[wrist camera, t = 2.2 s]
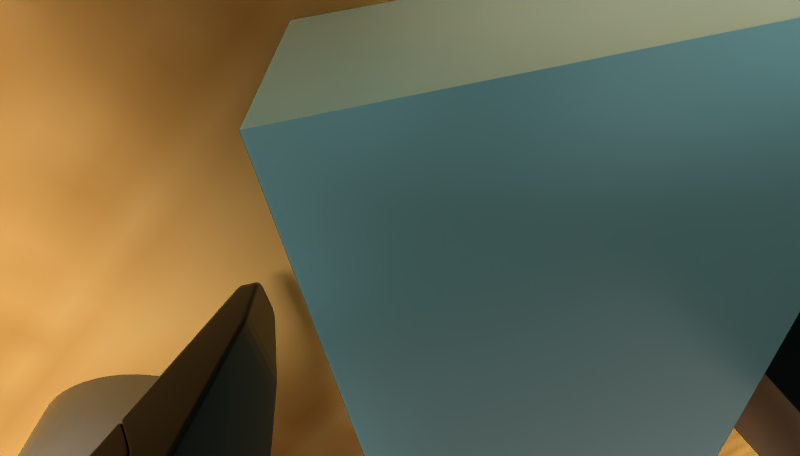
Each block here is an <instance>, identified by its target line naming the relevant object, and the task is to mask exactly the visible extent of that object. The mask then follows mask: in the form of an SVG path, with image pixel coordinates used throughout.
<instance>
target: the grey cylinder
mask: <svg viewBox="0 0 800 456" xmlns="http://www.w3.org/2000/svg"><path fill="white" fill-rule="evenodd" d="M158 378H159V376H151V375H117V376H108V377H103V378H97V379H93V380H90V381H86V382H83V383H81V384H78V385H76V386H73V387H71V388H69V389H68V390H66V391H64V392H63V393H61V394H60V395H58V396H57V397H56V398H55V399H54V400H53V401H52V402H51V403H50V404H49V406H48V407H47V409H46V410H45V412H44V414H43V415H42V417H41V419H40V420H39V422H38V424H37V425H36V427H35V428H34V430H33V432H32V433H31V435H30V437H29V438H28V440H27V442H26V443H25V445H24V447H23V448H22V450H21V452H20V453H19V455H18V456H89V455H90V454H91V453H92V452H93V451H94V450H95V449H96V448H97V447H98V445H99V444H100V443H101V442H102V441H103V440H104V439H105V438H106V436H107V435H108V434H109V433H110V432H111V431H112V430H113V429H114V427H115V426H116V425H117V424H119V423H122V422H121V421H122V419H123V417H124V416H125V415H126V414H127V413H128V412H129V411H130V410H131V408H132V407H133V406H134V405H135V404H136V403H137V402H138V401H139V399H140V398H141V397H142V396H143V395H144V394H145V393H146V392H147V390H148V389H149V388H150V387H151V386H152V385H153V384H154V383H155V381H156V380H157V379H158Z"/></svg>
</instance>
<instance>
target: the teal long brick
mask: <svg viewBox="0 0 800 456" xmlns="http://www.w3.org/2000/svg"><path fill="white" fill-rule="evenodd" d="M239 131H240V134H241V136H242V139H243V141H244V144H245V147H246V149H247V152H248V154H249V157H250V160H251V162H252V165H253V167H254V170H255V173H256V175H257V178H258V180H259V183H260V186H261V188H262V191H263V193H264V196H265V199H266V201H267V204H268V206H269V209H270V212H271V214H272V217H273V219H274V222H275V225H276V227H277V230H278V233H279V235H280V238H281V240H282V243H283V246H284V248H285V251H286V253H287V256H288V259H289V261H290V264H291V266H292V269H293V272H294V274H295V277H296V279H297V282H298V285H299V287H300V290H301V292H302V295H303V298H304V300H305V303H306V305H307V308H308V311H309V313H310V316H311V319H312V321H313V324H314V326H315V329H316V332H317V334H318V337H319V339H320V342H321V345H322V347H323V350H324V352H325V355H326V358H327V360H328V363H329V365H330V368H331V371H332V373H333V376H334V378H335V381H336V384H337V386H338V389H339V391H340V394H341V397H342V399H343V402H344V404H345V407H346V410H347V412H348V415H349V418H350V420H351V423H352V425H353V428H354V431H355V433H356V436H357V438H358V441H359V444H360V446H361V449H362V451H363V454H364V456H718V454H719V452H720V450H721V449H722V447H723V445H724V443H725V442H726V440H727V438H728V436H729V435H730V433H731V431H732V429H733V428H734V426H735V424H736V422H737V421H738V419H739V417H740V415H741V414H742V412H743V410H744V408H745V407H746V405H747V403H748V401H749V400H750V398H751V396H752V394H753V393H754V391H755V389H756V387H757V386H758V384H759V382H760V380H761V379H762V377H763V375H764V373H765V372H766V370H767V368H768V366H769V365H770V363H771V361H772V359H773V358H774V356H775V354H776V353H777V351H778V349H779V347H780V346H781V344H782V342H783V340H784V339H785V337H786V335H787V333H788V332H789V330H790V328H791V326H792V325H793V323H794V321H795V319H796V318H797V316H798V314H799V312H800V0H396V1H390V2H385V3H380V4H374V5H369V6H363V7H358V8H353V9H347V10H342V11H336V12H331V13H326V14H320V15H315V16H310V17H304V18H299V19H293V20H290V22H289V24H288V26H287V28H286V30H285V32H284V34H283V37H282V39H281V41H280V43H279V45H278V47H277V50H276V52H275V54H274V56H273V58H272V60H271V63H270V65H269V67H268V69H267V71H266V73H265V75H264V78H263V80H262V82H261V84H260V86H259V88H258V91H257V93H256V95H255V97H254V99H253V101H252V104H251V106H250V108H249V110H248V112H247V114H246V116H245V119H244V121H243V123H242V125H241V127H240V129H239Z"/></svg>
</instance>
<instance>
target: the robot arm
mask: <svg viewBox="0 0 800 456" xmlns="http://www.w3.org/2000/svg"><path fill="white" fill-rule="evenodd" d="M764 374H765V375H766V376H767V377H768V378H769V380H770V381H771V382H772V383H773V384H774V385H775V386H776V387H777V388H778V390H779V391H780V392H781V393H782V394H783V395H784V396H785V397H786V399H787V400H788V401H789V402H790V403H791V404H792V405H793V406H794V408H795V409H796V410H797V411H798V412H799V413H800V312H799V314H798V316H797V318H796V319H795V321H794V323H793V325H792V326H791V328H790V330H789V332H788V333H787V335H786V337H785V339H784V340H783V342H782V344H781V346H780V347H779V349H778V351H777V353H776V354H775V356H774V358H773V359H772V361H771V363H770V365H769V366H768V368H767V370H766V372H765V373H764ZM276 386H277V367H276V337H275V316H274V311H273V308H272V306H271V304H270V302H269V299H268V297H267V295H266V293H265V291H264V288H263V286H262V285H261V284H260V283H258V282H256V283H251V284H247V285H242V286H240V287H239V288H238V289H237V290H236V291H235V292H234V293H233V294H232V296H231V297H230V298H229V299H228V300H227V301H226V302H225V303H224V305H223V306H222V307H221V308H220V309H219V310H218V311H217V313H216V314H215V315H214V316H213V317H212V318H211V319H210V320H209V322H208V323H207V324H206V325H205V326H204V327H203V328H202V329H201V331H200V332H199V333H198V334H197V335H196V336H195V337H194V338H193V340H192V341H191V342H190V343H189V344H188V345H187V346H186V348H185V349H184V350H183V351H182V352H181V353H180V354H179V355H178V357H177V358H176V359H175V360H174V361H173V362H172V363H171V364H170V366H169V367H168V368H167V369H166V370H165V371H164V372H163V373H162V375H161V376H160V377H159V378H158V379H157V380H156V381H155V383H154V384H153V385H152V386H151V387H150V388H149V389H148V390H147V392H146V393H145V394H144V395H143V396H142V397H141V398H140V399H139V401H138V402H137V403H136V404H135V405H134V406H133V407H132V408H131V410H130V411H129V412H128V413H127V414H126V415H125V416H124V417H123V419H122V421H121V422H122V423H119V424H117V425H116V426H115V427H114V429H113V430H112V431H111V432H110V433H109V434H108V435H107V436H106V438H105V439H104V440H103V441H102V442H101V443H100V444H99V445H98V447H97V448H96V449H95V450H94V451H93V452H92V453H91V454H90V455H89V456H270V455H271V444H272V433H273V422H274V411H275V400H276Z"/></svg>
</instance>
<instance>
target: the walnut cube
mask: <svg viewBox="0 0 800 456" xmlns="http://www.w3.org/2000/svg"><path fill="white" fill-rule="evenodd" d="M734 428H735V429H736V431H737V432H738V433H739V434H740V435H741V436H742V437H743V438H744V439H745V440H746V442H747V443H748V444H749V445H750V446H751V447H752V448H753V449H754V450H755V452H756V453H757V454H758V455H759V456H800V413H799V412H798V411H797V410H796V409H795V408H794V406H793V405H792V404H791V403H790V402H789V401H788V400H787V399H786V397H785V396H784V395H783V394H782V393H781V392H780V391H779V390H778V388H777V387H776V386H775V385H774V384H773V383H772V382H771V381H770V380H769V378H768V377H767V376H766V375H765V374H764V375H763V377H762V379H761V380H760V382H759V384H758V386H757V387H756V389H755V391H754V393H753V394H752V396H751V398H750V400H749V401H748V403H747V405H746V407H745V408H744V410H743V412H742V414H741V415H740V417H739V419H738V421H737V422H736V424H735V426H734Z"/></svg>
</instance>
